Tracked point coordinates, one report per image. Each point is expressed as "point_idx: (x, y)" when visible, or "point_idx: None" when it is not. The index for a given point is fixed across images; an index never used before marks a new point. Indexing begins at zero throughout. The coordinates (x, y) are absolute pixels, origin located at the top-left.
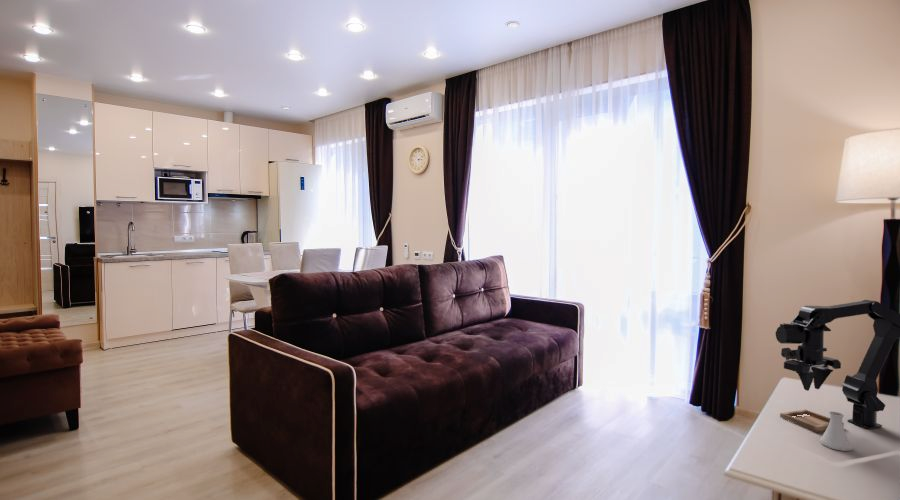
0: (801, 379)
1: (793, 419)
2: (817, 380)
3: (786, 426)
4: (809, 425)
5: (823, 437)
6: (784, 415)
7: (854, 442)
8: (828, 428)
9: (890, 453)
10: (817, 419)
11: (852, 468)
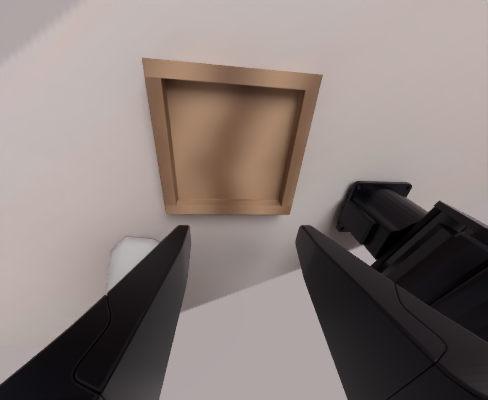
0: (97, 314)
1: (155, 130)
2: (334, 300)
3: (111, 131)
4: (164, 189)
5: (116, 256)
6: (147, 84)
7: (213, 256)
8: (107, 291)
9: (226, 293)
10: (276, 145)
11: (82, 311)
